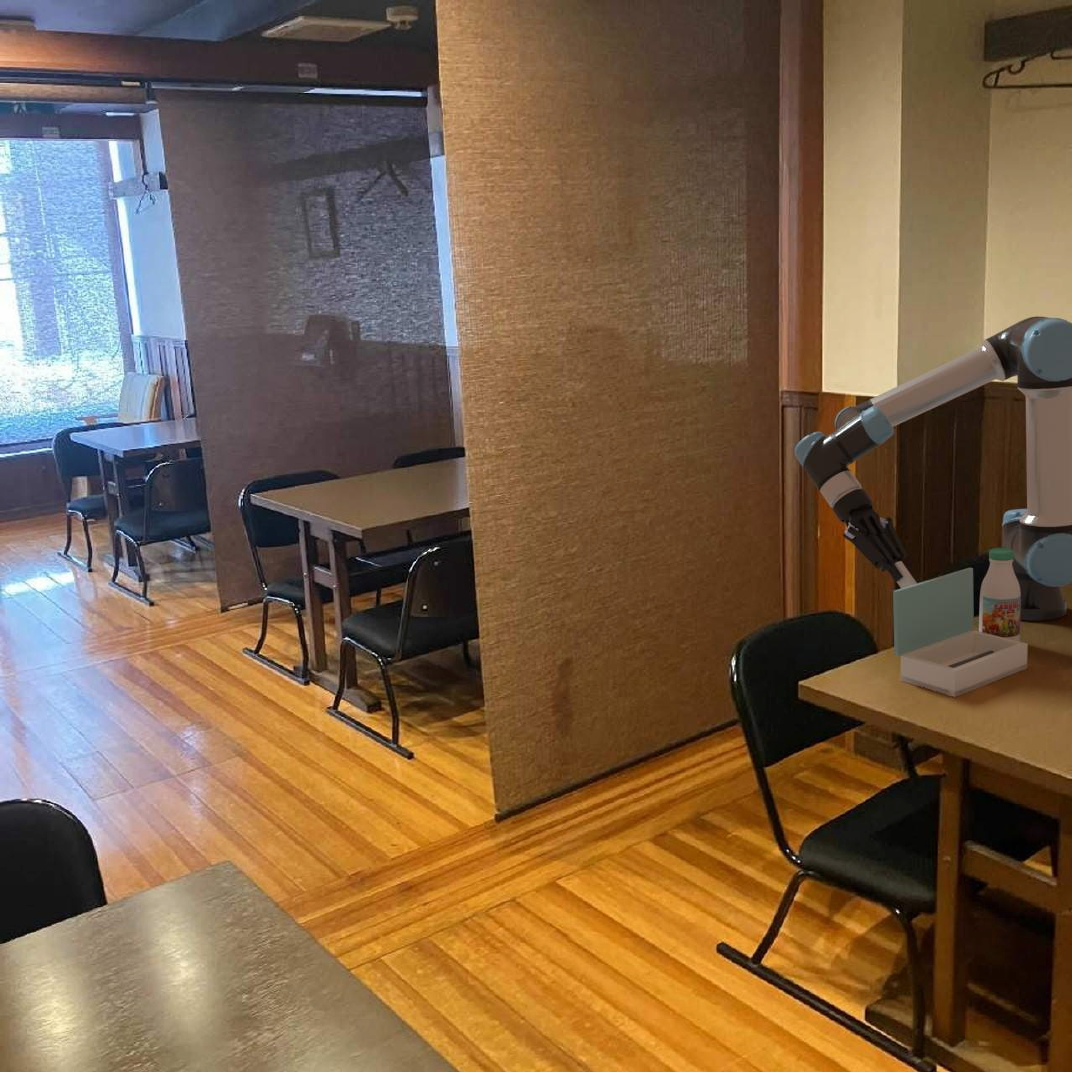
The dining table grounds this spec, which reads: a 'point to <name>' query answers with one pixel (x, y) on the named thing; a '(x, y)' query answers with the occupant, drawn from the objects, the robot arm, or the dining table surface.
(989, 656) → the white shallow box
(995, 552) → the milk bottle
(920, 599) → the cover
